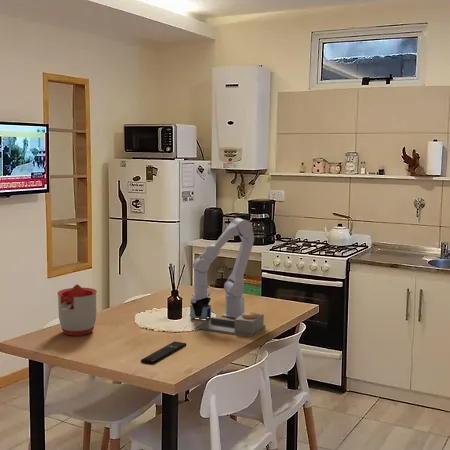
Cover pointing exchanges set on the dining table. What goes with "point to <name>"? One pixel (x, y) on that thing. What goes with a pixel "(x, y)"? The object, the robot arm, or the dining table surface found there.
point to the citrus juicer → (77, 310)
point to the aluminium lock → (204, 312)
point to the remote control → (163, 353)
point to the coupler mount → (236, 324)
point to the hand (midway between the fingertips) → (200, 315)
